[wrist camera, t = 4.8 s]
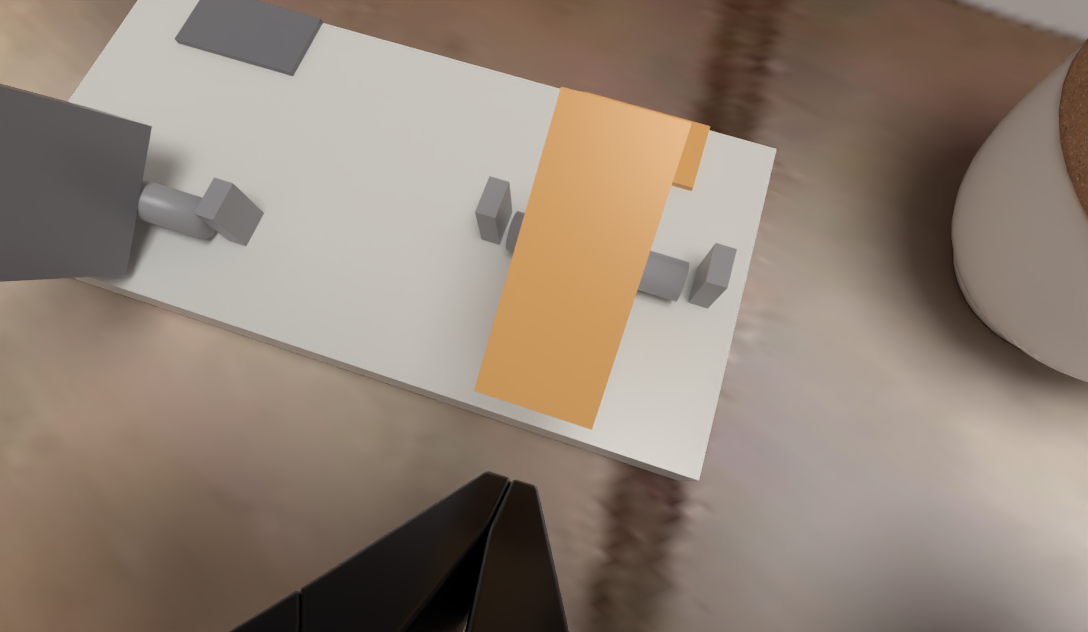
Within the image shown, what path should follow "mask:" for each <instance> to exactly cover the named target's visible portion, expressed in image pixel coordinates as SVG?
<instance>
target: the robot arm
mask: <svg viewBox="0 0 1088 632" xmlns="http://www.w3.org/2000/svg"><path fill="white" fill-rule="evenodd" d="M466 622H467V625H466V629H465V632H569V630H568V625H567V620H566V616H565V611H564V607H563V602H562V598H561V593H560V589H559V584H558V580H557V575H556V571H555V566H554V561H553V557H552V552H551V548H550V543H549V539H548V534H547V530H546V525H545V521H544V516H543V511H542V507H541V502H540V498H539V493H538V490H537V487H536V486H534V485H531V484H528V483H525V482H521V481H518V480H513V481H512V482H511V483H510V479H509V478H508V477H505V476H502V475H499V474H495V473H492V472H485V473H483V474H481V475H480V476H478V477H476V478H475V479H473V480H472V481H470V482H469V483H467V484H465V485H464V486H462V487H461V488H459V489H457V490H456V491H454V492H453V493H451V494H450V495H448V496H446V497H445V498H443V499H442V500H440V501H438V502H437V503H435V504H434V505H432V506H431V507H429V508H427V509H426V510H424V511H423V512H421V513H420V514H418V515H416V516H415V517H413V518H412V519H410V520H408V521H407V522H405V523H404V524H402V525H401V526H399V527H397V528H396V529H394V530H393V531H391V532H389V533H388V534H386V535H385V536H383V537H382V538H380V539H378V540H377V541H375V542H374V543H372V544H371V545H369V546H367V547H366V548H364V549H363V550H361V551H359V552H358V553H356V554H355V555H353V556H352V557H350V558H348V559H347V560H345V561H344V562H342V563H340V564H339V565H337V566H336V567H334V568H333V569H331V570H329V571H328V572H326V573H325V574H323V575H321V576H320V577H318V578H317V579H315V580H314V581H312V582H310V583H309V584H307V585H306V586H304V587H303V588H302V589H301V592H298V591H295V592H293V593H291V594H290V595H288V596H287V597H285V598H283V599H282V600H280V601H279V602H277V603H276V604H274V605H272V606H271V607H269V608H268V609H266V610H264V611H263V612H261V613H259V614H258V615H256V616H254V617H253V618H251V619H249V620H248V621H246V622H244V623H243V624H241V625H239V626H237V627H236V628H234V629H232V630H231V631H229V632H462V631H463V629H464V627H465V624H466Z"/></svg>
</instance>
